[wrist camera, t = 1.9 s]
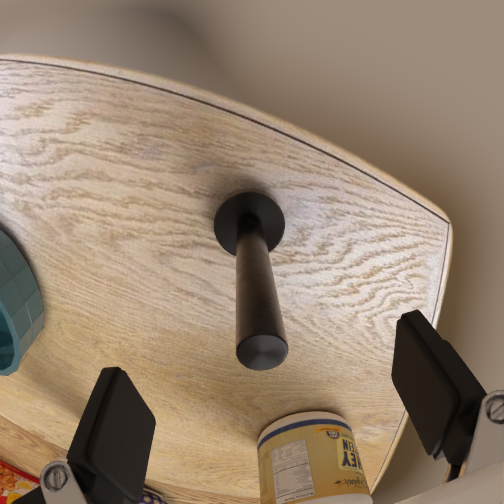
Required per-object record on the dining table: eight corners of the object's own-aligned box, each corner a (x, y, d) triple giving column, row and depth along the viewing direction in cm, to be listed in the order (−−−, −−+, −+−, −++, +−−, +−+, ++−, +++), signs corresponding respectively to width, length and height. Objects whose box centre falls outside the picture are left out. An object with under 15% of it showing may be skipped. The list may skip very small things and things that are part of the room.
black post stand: (207, 196, 22) (167, 307, 9) (276, 181, 22) (329, 275, 9) (223, 258, 24) (212, 405, 11) (287, 245, 24) (336, 384, 11)
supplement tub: (361, 431, 36) (392, 534, 20) (286, 462, 38) (299, 561, 23) (325, 393, 31) (361, 530, 16) (236, 431, 34) (239, 555, 18)
